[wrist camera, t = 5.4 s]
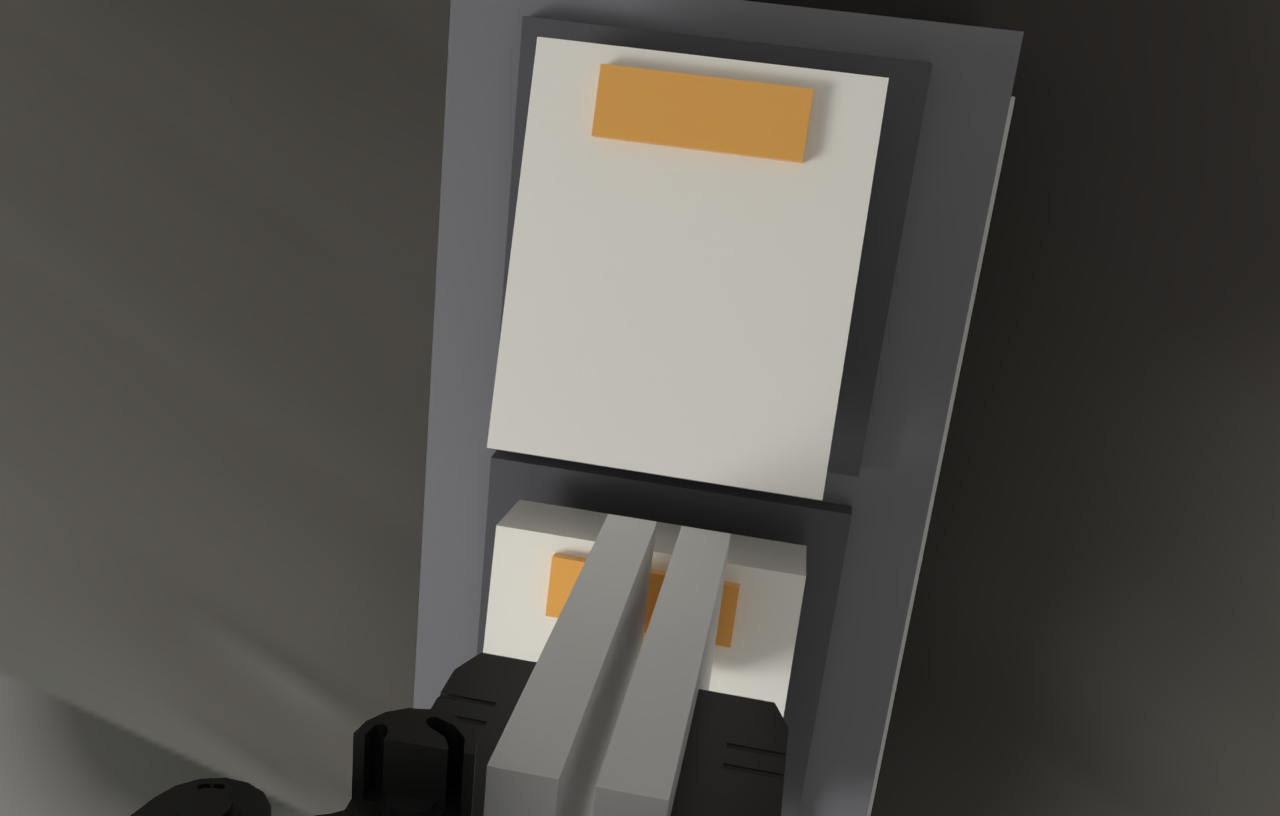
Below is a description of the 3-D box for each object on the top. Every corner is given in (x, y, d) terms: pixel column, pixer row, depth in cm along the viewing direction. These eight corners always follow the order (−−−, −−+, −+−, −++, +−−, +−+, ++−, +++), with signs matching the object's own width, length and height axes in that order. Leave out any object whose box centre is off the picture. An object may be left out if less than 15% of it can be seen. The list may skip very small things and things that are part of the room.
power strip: (447, 1083, 33) (377, 1275, 28) (527, -22, 24) (444, -34, 19) (778, 1156, 32) (767, 1369, 27) (995, 30, 23) (1041, 33, 18)
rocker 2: (485, 810, 22) (458, 865, 20) (519, 499, 21) (493, 528, 19) (755, 862, 22) (750, 923, 20) (806, 545, 20) (806, 580, 19)
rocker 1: (511, 434, 19) (483, 449, 18) (558, 57, 19) (534, 33, 17) (819, 482, 19) (823, 502, 17) (880, 95, 18) (890, 75, 16)
